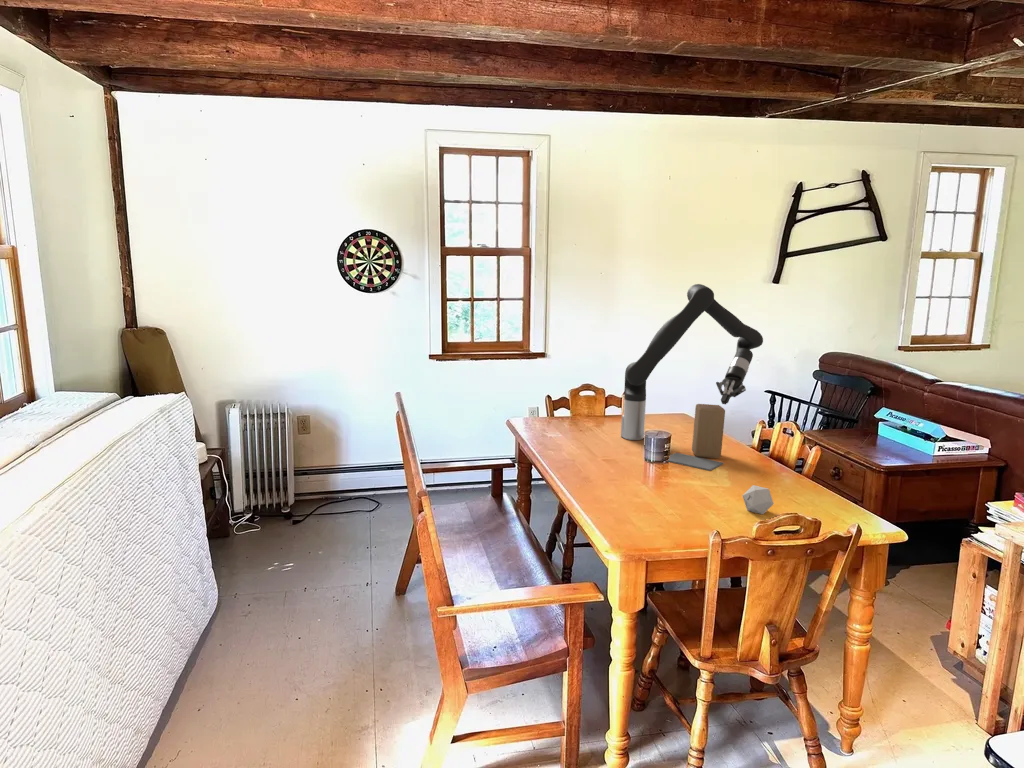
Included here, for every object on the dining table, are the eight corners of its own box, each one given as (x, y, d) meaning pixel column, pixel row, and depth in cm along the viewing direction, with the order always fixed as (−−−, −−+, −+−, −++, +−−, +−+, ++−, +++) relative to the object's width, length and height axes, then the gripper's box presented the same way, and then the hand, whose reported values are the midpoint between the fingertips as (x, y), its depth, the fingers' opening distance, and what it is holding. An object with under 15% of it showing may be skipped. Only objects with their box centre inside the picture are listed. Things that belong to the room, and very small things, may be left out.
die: (741, 506, 219) (735, 488, 213) (765, 494, 218) (759, 475, 213) (756, 524, 212) (750, 505, 206) (780, 511, 212) (775, 492, 206)
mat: (661, 460, 266) (661, 458, 266) (676, 453, 275) (676, 452, 275) (709, 471, 253) (710, 469, 253) (723, 464, 262) (723, 462, 262)
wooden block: (716, 452, 277) (720, 404, 275) (721, 459, 268) (725, 409, 265) (691, 451, 278) (695, 403, 275) (695, 457, 268) (699, 407, 266)
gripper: (720, 363, 289) (706, 395, 282) (751, 366, 280) (737, 400, 273) (724, 374, 294) (710, 406, 287) (754, 377, 285) (741, 410, 278)
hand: (723, 403), depth 280 cm, fingers closed
